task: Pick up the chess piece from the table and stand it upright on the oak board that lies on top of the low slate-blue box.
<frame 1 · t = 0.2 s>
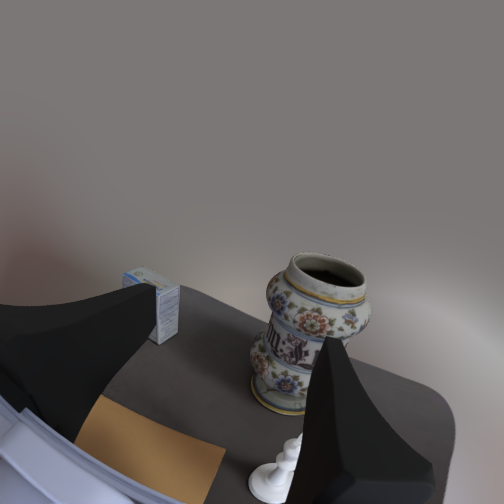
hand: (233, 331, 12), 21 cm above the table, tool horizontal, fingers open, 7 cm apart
apothecary jar: (286, 389, 36), on the table
medicine box: (150, 329, 43), on the table
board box: (106, 492, 17), on the table
chess piece: (272, 484, 22), on the table
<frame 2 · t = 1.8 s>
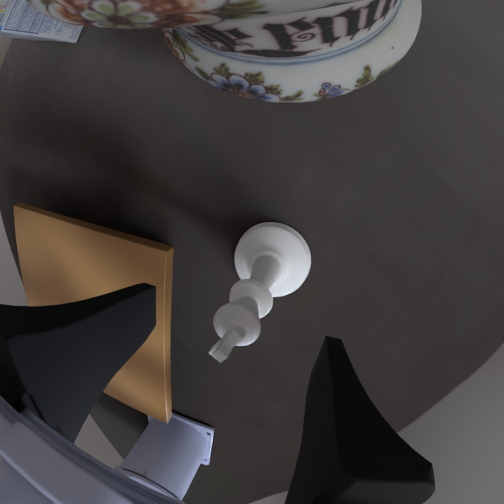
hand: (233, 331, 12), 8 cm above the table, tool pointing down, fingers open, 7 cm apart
apothecary jar: (299, 29, 14), on the table
medicine box: (65, 23, 17), on the table
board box: (106, 299, 25), on the table
chess piece: (273, 258, 19), on the table
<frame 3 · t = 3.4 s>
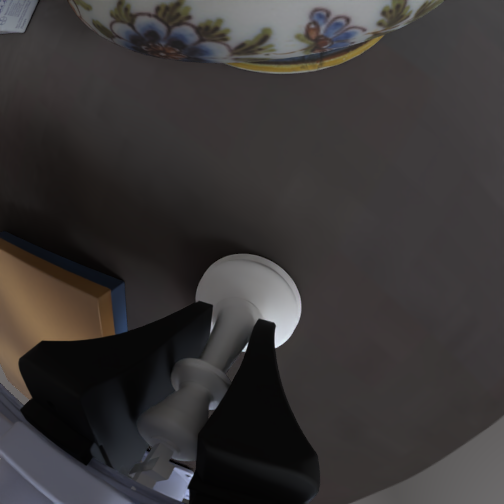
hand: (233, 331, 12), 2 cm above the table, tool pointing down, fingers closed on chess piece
medicine box: (19, 12, 11), on the table
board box: (63, 332, 19), on the table
chess piece: (249, 301, 14), on the table, touching gripper
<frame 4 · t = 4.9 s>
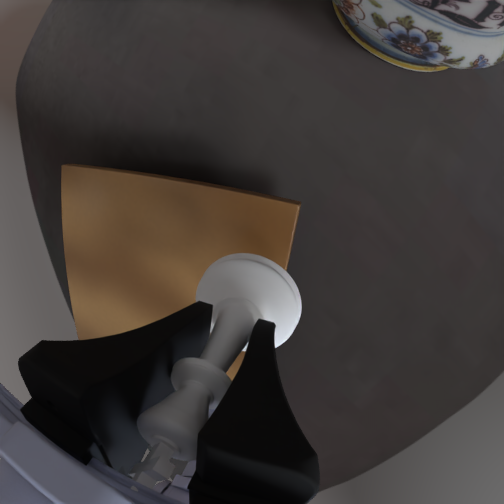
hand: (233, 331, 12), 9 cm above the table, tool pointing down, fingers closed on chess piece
apothecary jar: (404, 9, 12), on the table
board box: (174, 278, 23), on the table
chess piece: (249, 300, 14), point 7 cm above the table, touching gripper
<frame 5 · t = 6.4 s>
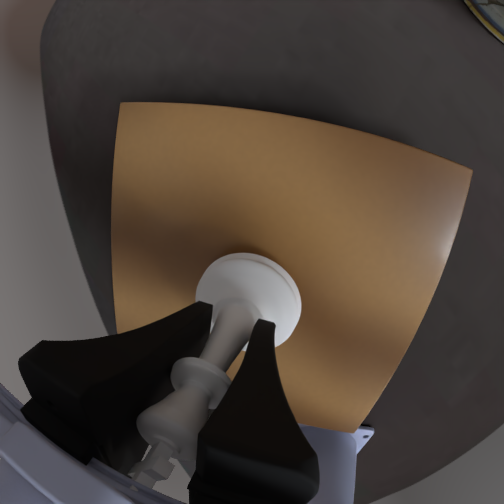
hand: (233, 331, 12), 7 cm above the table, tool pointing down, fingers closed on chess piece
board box: (268, 266, 18), on the table
chess piece: (249, 300, 14), point 4 cm above the table, touching gripper
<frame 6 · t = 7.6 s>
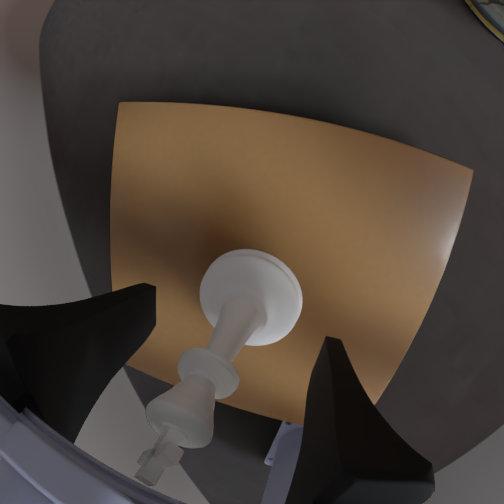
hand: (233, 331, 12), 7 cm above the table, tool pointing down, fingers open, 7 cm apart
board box: (268, 267, 18), on the table
chess piece: (252, 295, 14), point 4 cm above the table, touching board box
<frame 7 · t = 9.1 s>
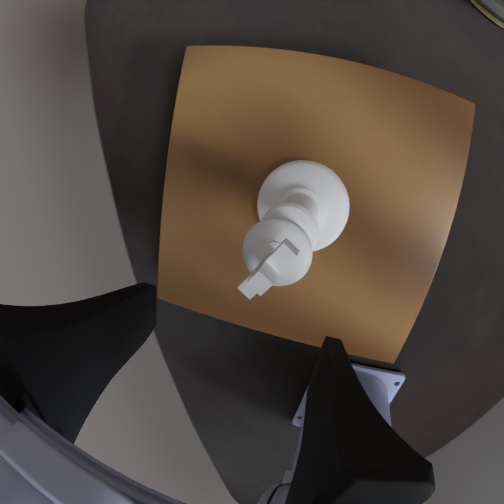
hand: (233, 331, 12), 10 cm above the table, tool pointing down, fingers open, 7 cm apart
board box: (309, 196, 19), on the table
chess piece: (303, 205, 16), point 4 cm above the table, touching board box
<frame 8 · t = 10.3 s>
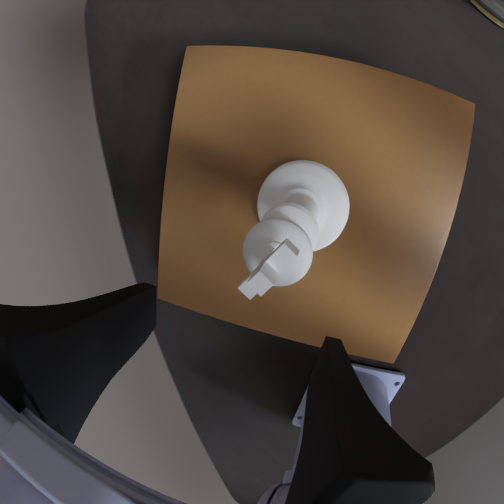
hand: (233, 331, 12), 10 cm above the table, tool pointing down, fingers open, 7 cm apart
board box: (309, 196, 19), on the table
chess piece: (303, 205, 16), point 4 cm above the table, touching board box
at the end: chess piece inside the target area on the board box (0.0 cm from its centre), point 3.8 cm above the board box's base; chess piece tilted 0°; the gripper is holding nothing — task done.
